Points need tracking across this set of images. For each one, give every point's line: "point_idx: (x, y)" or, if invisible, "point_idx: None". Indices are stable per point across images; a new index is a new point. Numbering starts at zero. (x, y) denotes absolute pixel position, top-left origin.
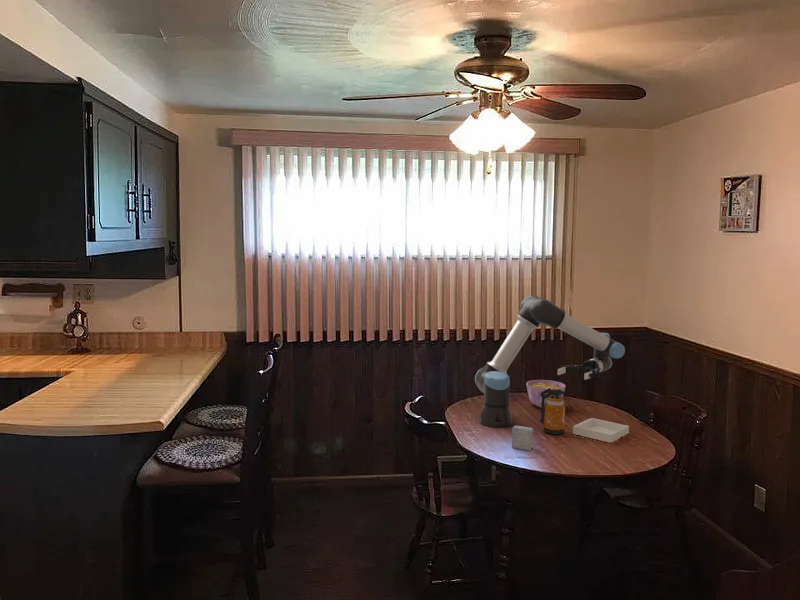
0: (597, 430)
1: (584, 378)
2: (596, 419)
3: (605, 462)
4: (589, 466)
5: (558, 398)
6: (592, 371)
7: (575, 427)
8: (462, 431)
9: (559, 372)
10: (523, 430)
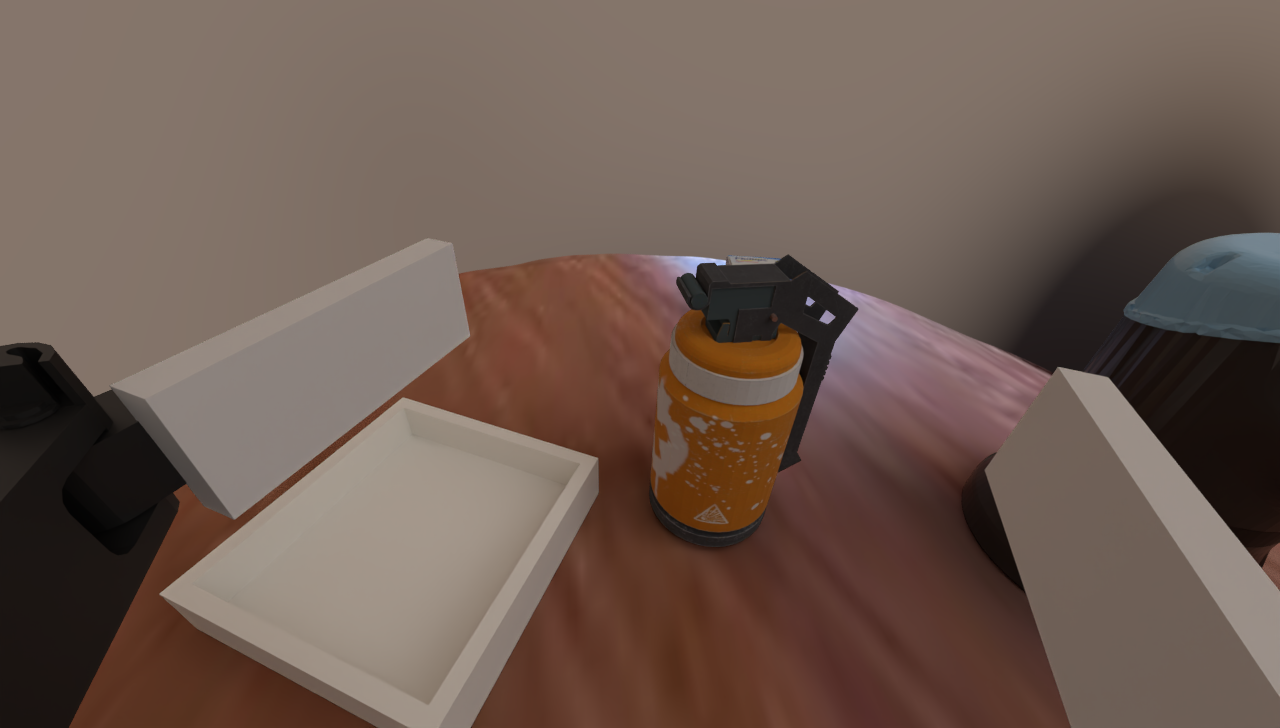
0: (435, 578)
1: (462, 320)
2: (395, 689)
3: (488, 303)
4: (539, 280)
5: (710, 320)
6: (52, 436)
7: (584, 456)
8: (1035, 388)
9: (1021, 449)
10: (752, 257)
